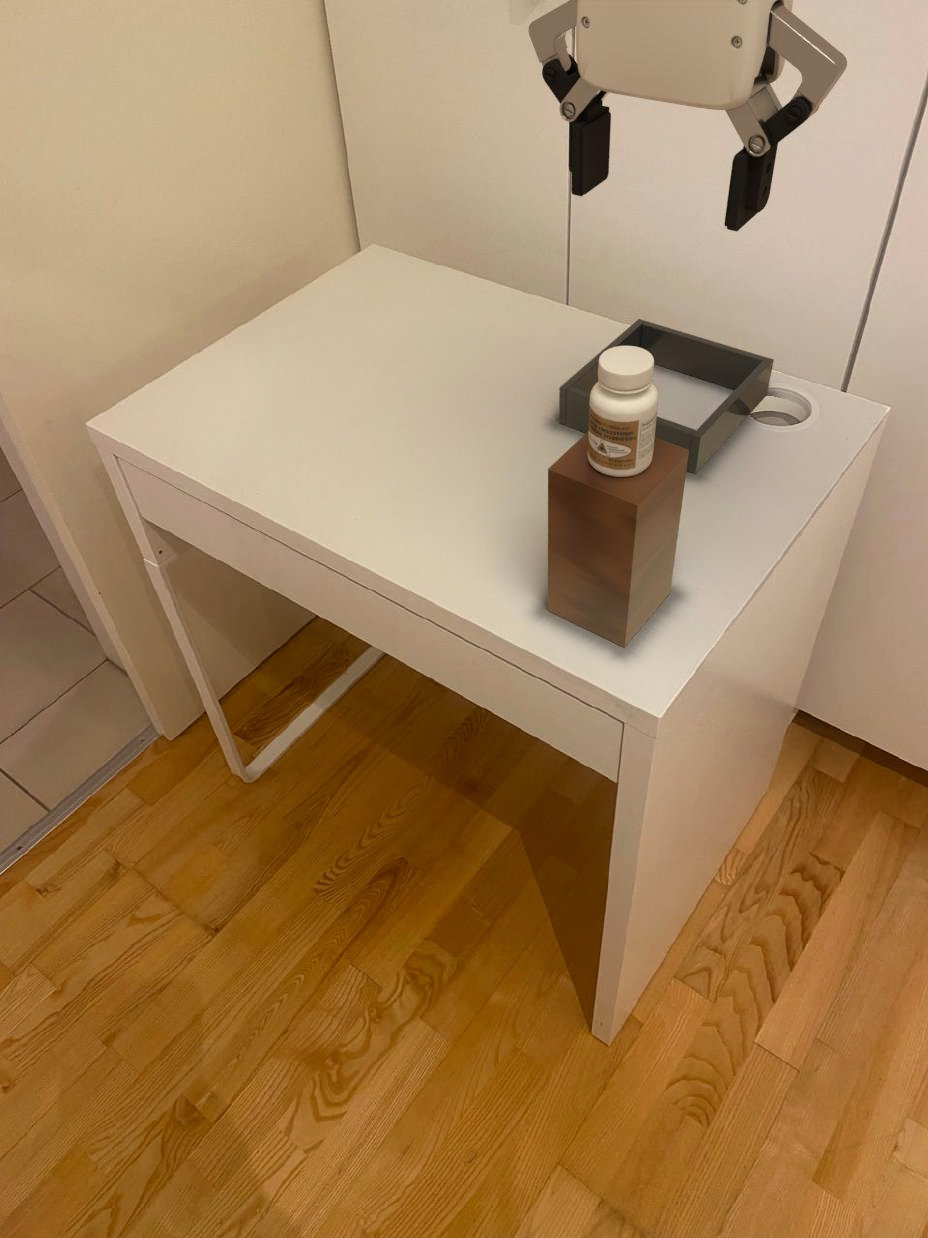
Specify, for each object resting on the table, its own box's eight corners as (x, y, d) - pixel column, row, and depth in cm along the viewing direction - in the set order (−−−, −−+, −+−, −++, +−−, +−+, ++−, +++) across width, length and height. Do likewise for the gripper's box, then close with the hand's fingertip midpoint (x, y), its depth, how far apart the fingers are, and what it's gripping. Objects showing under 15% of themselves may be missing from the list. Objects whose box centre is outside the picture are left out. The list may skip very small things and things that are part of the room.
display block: (670, 593, 76) (689, 449, 65) (624, 648, 72) (637, 505, 62) (594, 559, 79) (601, 417, 69) (547, 610, 75) (547, 468, 65)
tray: (766, 395, 93) (774, 359, 90) (695, 474, 86) (700, 437, 83) (636, 353, 100) (638, 318, 97) (558, 422, 92) (559, 387, 89)
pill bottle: (574, 465, 65) (577, 365, 59) (608, 432, 67) (614, 333, 62) (631, 487, 63) (639, 386, 57) (664, 453, 65) (675, 352, 60)
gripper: (923, -197, 40) (836, 208, 53) (572, -200, 48) (568, 153, 60) (857, -164, 36) (779, 265, 49) (486, -174, 44) (501, 199, 56)
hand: (663, 203), depth 55 cm, fingers open, 9 cm apart
